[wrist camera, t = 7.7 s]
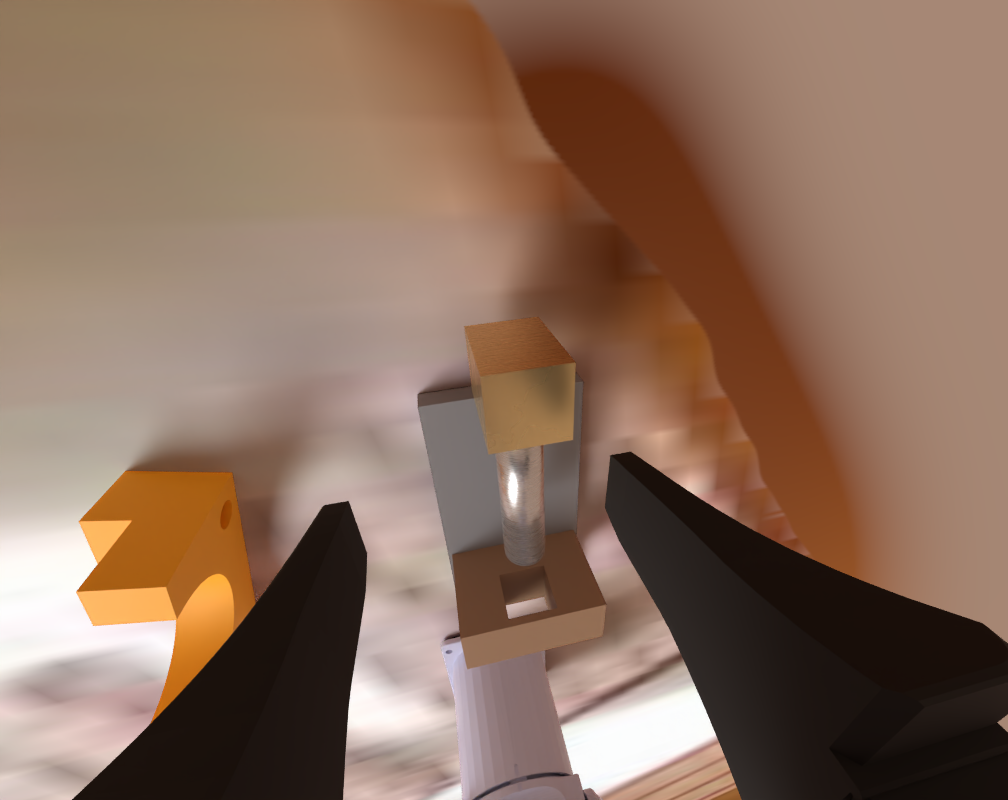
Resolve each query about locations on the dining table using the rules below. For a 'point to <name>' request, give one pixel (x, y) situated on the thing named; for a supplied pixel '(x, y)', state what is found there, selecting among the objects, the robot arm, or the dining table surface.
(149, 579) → the pipe clamp
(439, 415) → the eye block
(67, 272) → the dining table surface
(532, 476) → the pin
